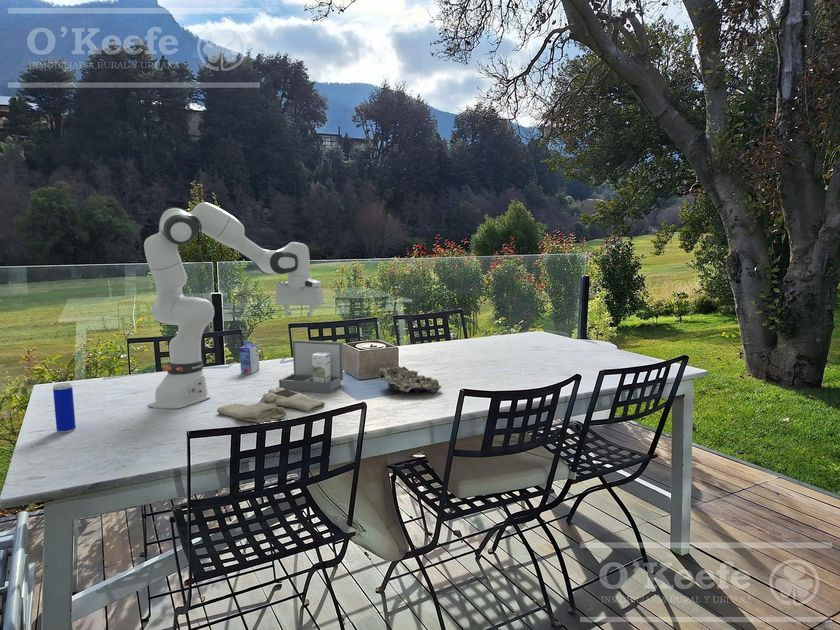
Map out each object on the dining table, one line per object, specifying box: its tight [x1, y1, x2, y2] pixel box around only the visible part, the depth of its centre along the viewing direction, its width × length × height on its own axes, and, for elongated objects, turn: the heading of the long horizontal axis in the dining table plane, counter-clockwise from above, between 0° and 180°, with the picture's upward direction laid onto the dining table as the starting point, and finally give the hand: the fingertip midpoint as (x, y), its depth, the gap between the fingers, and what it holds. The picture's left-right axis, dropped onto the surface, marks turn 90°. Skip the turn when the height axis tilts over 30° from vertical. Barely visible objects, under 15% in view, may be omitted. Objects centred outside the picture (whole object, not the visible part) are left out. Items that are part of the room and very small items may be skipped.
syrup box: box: [312, 352, 331, 383], centre depth 231 cm, size 6×6×14 cm
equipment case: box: [278, 339, 344, 394], centre depth 233 cm, size 14×22×18 cm, turn 76°
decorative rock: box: [377, 365, 442, 394], centre depth 229 cm, size 22×26×10 cm
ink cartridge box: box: [239, 339, 260, 375], centre depth 261 cm, size 10×6×14 cm, turn 174°
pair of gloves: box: [216, 386, 325, 424], centre depth 202 cm, size 30×26×5 cm
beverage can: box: [52, 382, 77, 434], centre depth 180 cm, size 5×5×15 cm
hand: (299, 316), depth 233 cm, fingers open, 8 cm apart
